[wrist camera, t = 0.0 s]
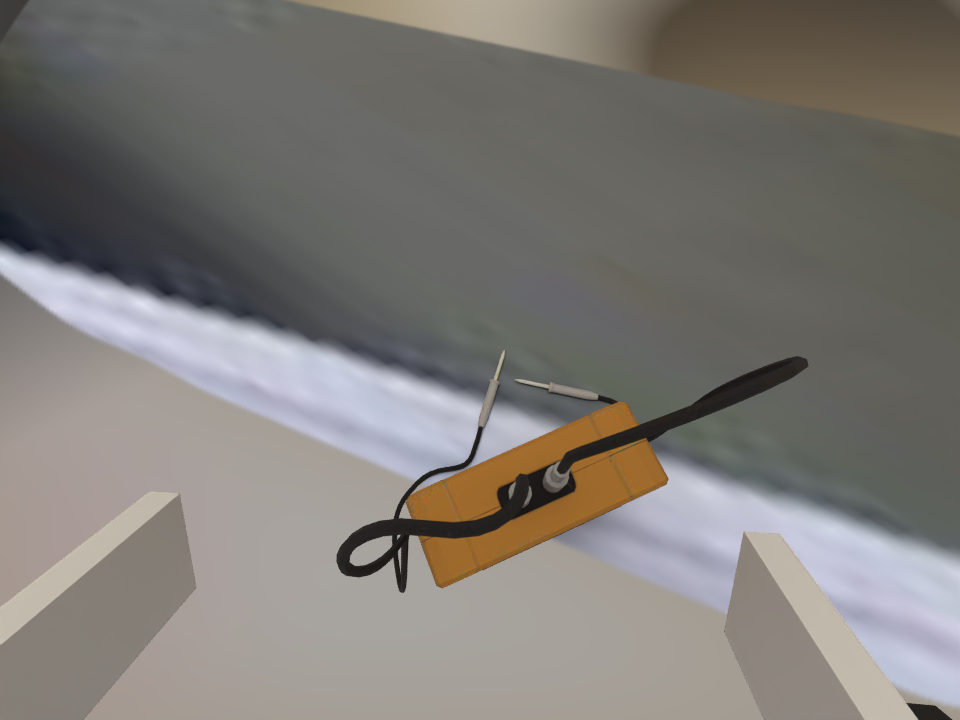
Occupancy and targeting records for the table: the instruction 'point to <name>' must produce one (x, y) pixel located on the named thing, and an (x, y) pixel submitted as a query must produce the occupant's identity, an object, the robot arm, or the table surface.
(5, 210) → the table surface
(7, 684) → the robot arm
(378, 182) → the table surface
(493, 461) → the multimeter
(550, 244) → the table surface
